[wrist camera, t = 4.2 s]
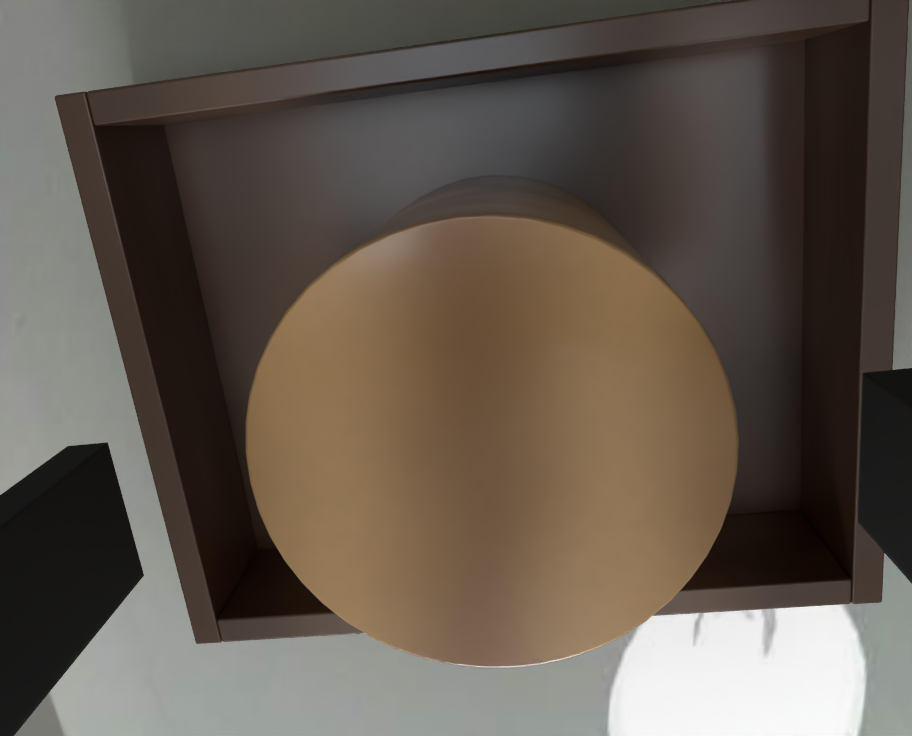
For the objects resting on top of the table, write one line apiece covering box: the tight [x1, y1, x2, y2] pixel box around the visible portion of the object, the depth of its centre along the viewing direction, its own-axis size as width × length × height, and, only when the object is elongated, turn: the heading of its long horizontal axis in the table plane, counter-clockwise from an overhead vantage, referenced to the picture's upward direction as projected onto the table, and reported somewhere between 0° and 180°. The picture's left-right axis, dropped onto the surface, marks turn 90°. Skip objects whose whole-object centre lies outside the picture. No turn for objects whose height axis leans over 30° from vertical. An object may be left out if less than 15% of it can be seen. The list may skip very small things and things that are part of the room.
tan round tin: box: [246, 175, 739, 668], centre depth 19 cm, size 9×9×10 cm
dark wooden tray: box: [55, 0, 909, 644], centre depth 22 cm, size 20×16×4 cm
